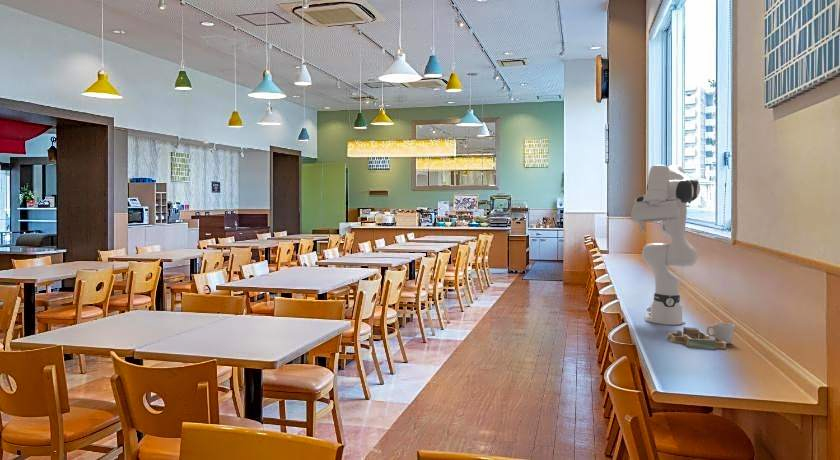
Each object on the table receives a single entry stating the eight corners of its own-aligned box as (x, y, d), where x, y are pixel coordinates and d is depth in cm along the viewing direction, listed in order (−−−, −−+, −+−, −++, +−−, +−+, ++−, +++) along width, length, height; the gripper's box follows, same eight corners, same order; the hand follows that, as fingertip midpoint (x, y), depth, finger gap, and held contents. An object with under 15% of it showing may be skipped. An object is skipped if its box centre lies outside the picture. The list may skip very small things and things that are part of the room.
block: (682, 338, 282) (683, 327, 282) (694, 339, 282) (695, 327, 281) (686, 340, 277) (686, 329, 277) (698, 341, 277) (699, 330, 276)
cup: (705, 342, 275) (706, 323, 275) (706, 339, 282) (707, 320, 282) (733, 345, 270) (734, 327, 270) (734, 342, 277) (735, 323, 277)
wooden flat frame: (666, 337, 282) (666, 329, 282) (712, 339, 280) (712, 332, 280) (677, 346, 265) (678, 338, 264) (727, 349, 262) (727, 341, 262)
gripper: (684, 200, 268) (681, 231, 263) (637, 205, 282) (634, 234, 277) (678, 194, 264) (675, 225, 259) (630, 199, 277) (627, 229, 273)
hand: (653, 230), depth 268 cm, fingers open, 8 cm apart
